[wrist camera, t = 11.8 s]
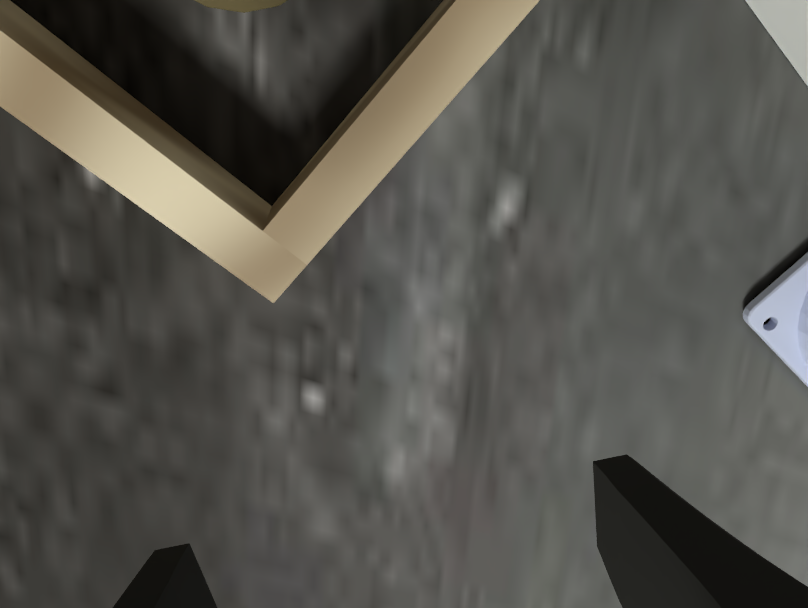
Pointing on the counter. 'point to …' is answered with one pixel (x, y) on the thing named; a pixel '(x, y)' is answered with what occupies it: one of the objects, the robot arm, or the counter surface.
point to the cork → (241, 4)
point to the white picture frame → (787, 28)
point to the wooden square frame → (209, 182)
